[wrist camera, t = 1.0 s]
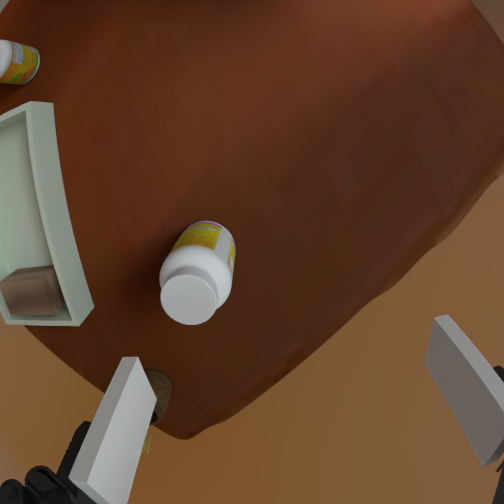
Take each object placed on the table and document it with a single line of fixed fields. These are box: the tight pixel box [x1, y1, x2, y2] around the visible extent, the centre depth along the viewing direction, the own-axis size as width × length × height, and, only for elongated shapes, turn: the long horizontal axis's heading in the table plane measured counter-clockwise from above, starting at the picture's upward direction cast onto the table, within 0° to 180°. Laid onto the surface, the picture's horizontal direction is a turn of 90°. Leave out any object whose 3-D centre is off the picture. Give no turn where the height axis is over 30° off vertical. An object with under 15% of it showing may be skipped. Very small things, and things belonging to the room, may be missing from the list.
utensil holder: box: [142, 370, 172, 455], centre depth 39 cm, size 6×6×12 cm
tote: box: [0, 101, 94, 326], centre depth 33 cm, size 28×15×5 cm, turn 6°
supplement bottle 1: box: [0, 40, 40, 85], centre depth 24 cm, size 5×5×10 cm
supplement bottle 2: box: [160, 221, 235, 325], centre depth 31 cm, size 7×7×13 cm
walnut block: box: [0, 265, 66, 315], centre depth 36 cm, size 5×9×5 cm, turn 96°
